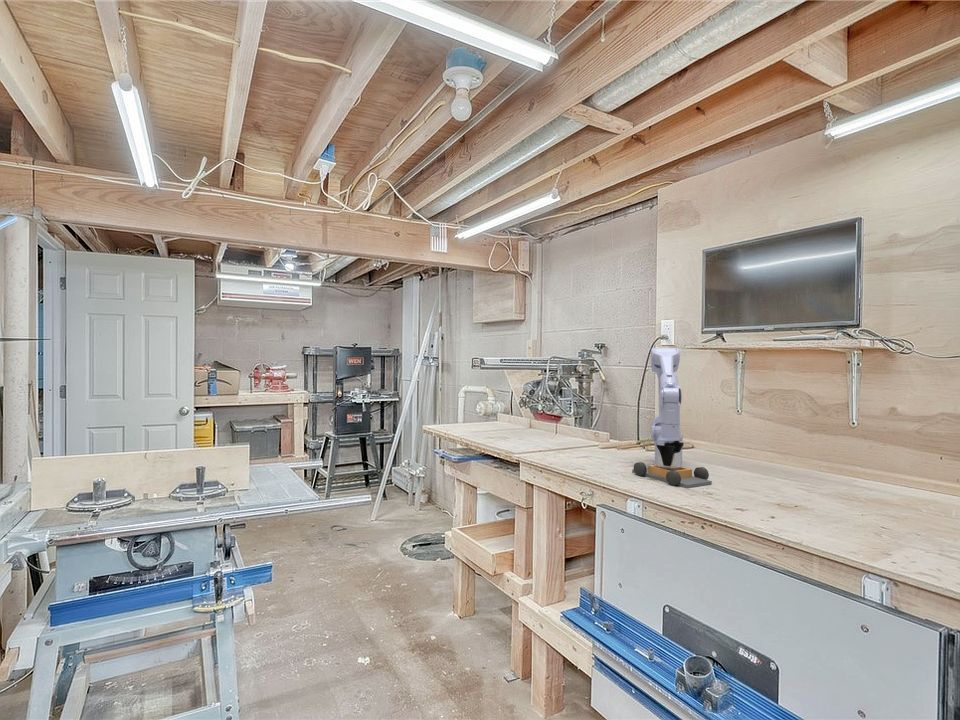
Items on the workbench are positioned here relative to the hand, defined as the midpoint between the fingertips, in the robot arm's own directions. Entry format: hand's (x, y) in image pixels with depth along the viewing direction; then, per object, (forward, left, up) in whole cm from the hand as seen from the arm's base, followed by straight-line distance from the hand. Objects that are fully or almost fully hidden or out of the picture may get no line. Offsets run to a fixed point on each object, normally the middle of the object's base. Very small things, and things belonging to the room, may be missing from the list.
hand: (670, 464), depth 160 cm
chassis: (0, 0, -4) cm, 4 cm away
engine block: (0, 0, -2) cm, 2 cm away
